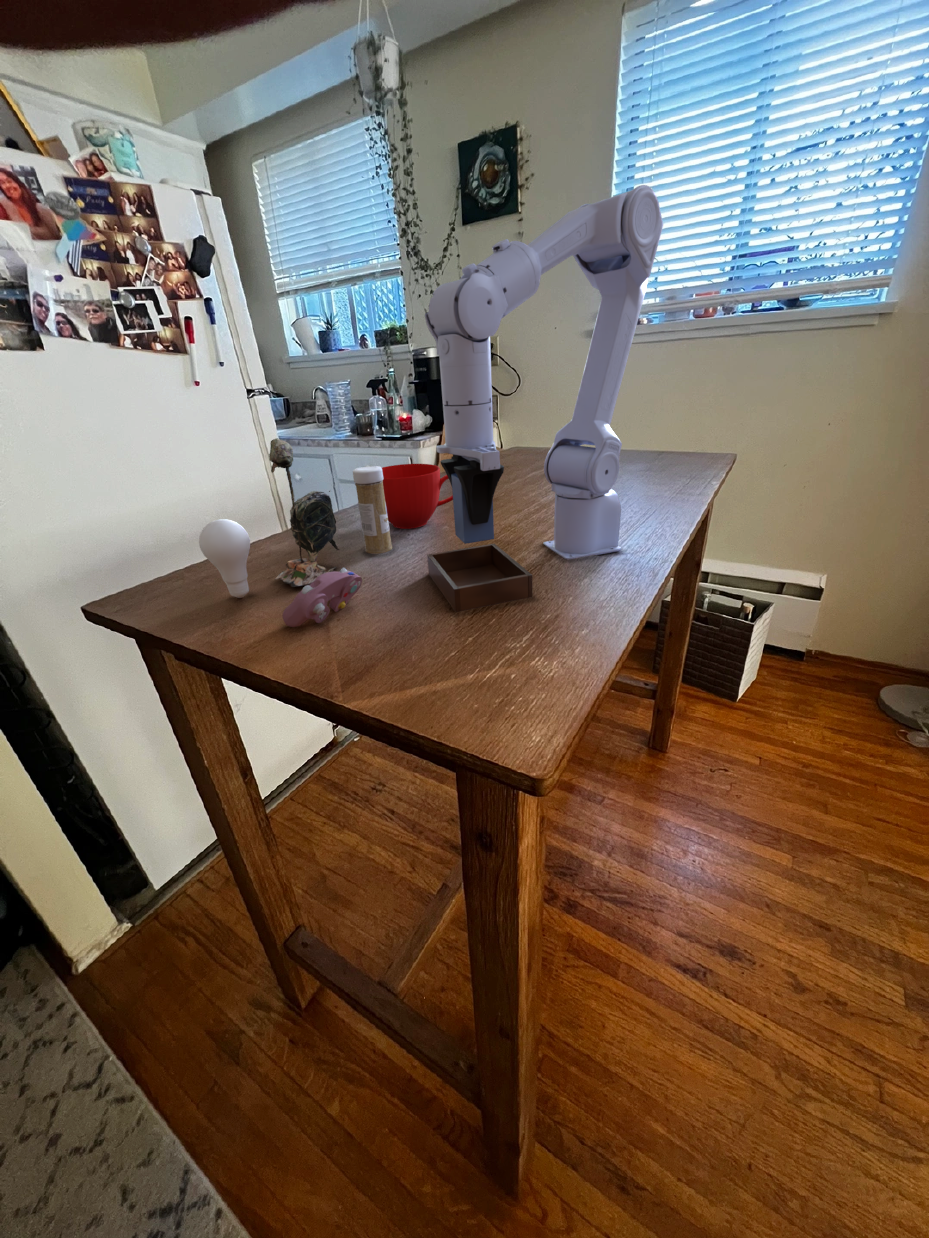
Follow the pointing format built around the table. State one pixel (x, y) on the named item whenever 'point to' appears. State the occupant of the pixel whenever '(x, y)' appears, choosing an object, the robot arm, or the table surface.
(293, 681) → the table surface
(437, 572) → the box
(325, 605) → the video game controller
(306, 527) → the ostrich figurine
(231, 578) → the lightbulb
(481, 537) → the peg
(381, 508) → the sprinkles bottle
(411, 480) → the ceramic cup
